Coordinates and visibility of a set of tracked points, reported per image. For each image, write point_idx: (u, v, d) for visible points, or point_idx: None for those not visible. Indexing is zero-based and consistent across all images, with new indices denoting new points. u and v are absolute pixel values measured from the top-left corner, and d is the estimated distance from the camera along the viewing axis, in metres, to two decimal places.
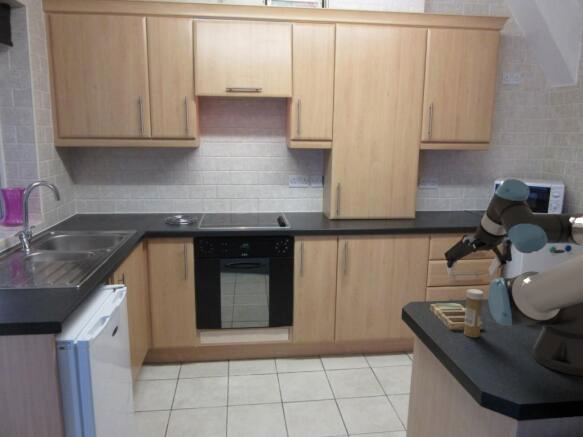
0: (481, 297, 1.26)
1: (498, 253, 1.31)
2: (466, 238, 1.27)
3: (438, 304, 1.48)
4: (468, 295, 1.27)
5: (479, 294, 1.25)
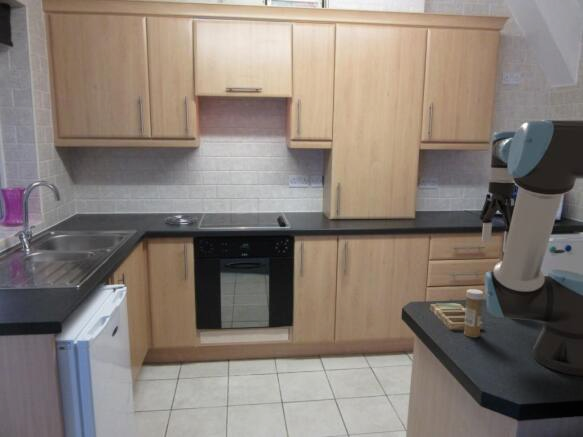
0: (481, 297, 1.26)
1: (503, 215, 1.36)
2: None
3: (438, 304, 1.48)
4: (468, 295, 1.27)
5: (479, 294, 1.25)
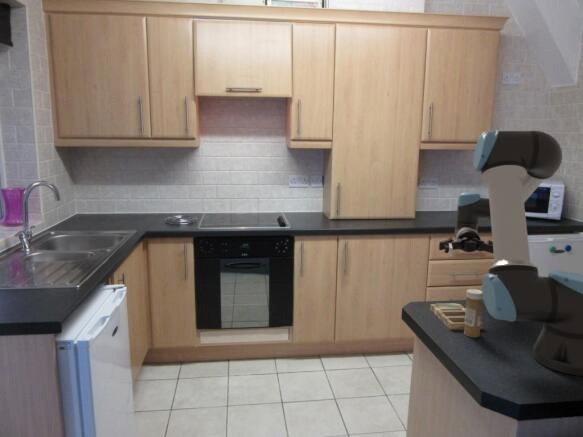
0: (481, 297, 1.26)
1: (486, 243, 1.44)
2: None
3: (438, 304, 1.48)
4: (468, 295, 1.27)
5: (479, 294, 1.25)
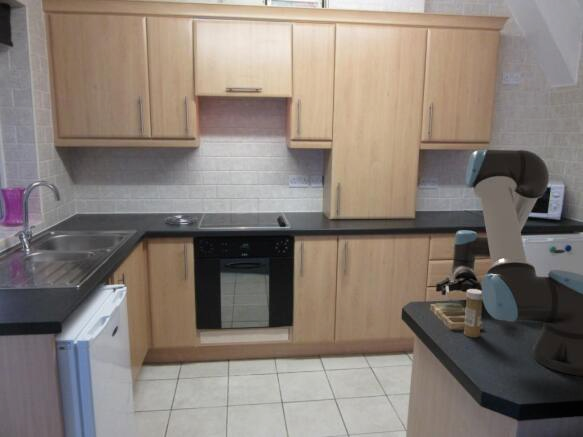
0: (481, 297, 1.26)
1: None
2: None
3: (438, 304, 1.48)
4: (468, 295, 1.27)
5: (479, 294, 1.25)
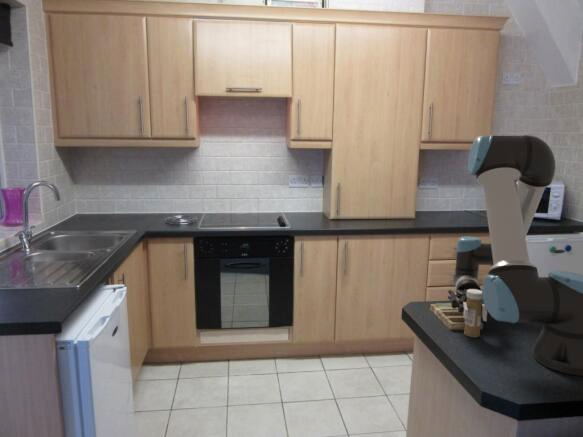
0: (481, 297, 1.26)
1: None
2: None
3: (438, 304, 1.48)
4: (468, 295, 1.27)
5: (479, 294, 1.25)
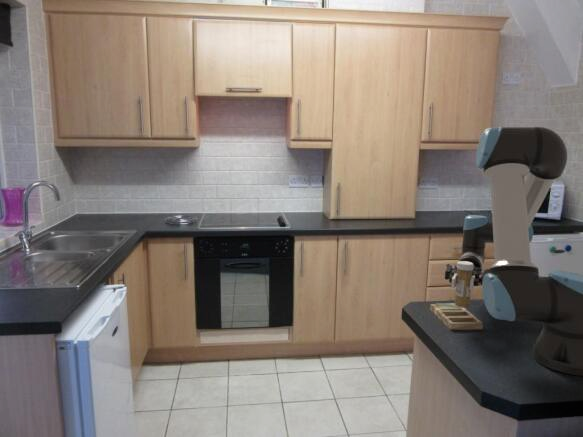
0: (470, 268, 1.30)
1: (475, 271, 1.37)
2: None
3: (438, 304, 1.48)
4: (458, 266, 1.31)
5: (468, 265, 1.30)
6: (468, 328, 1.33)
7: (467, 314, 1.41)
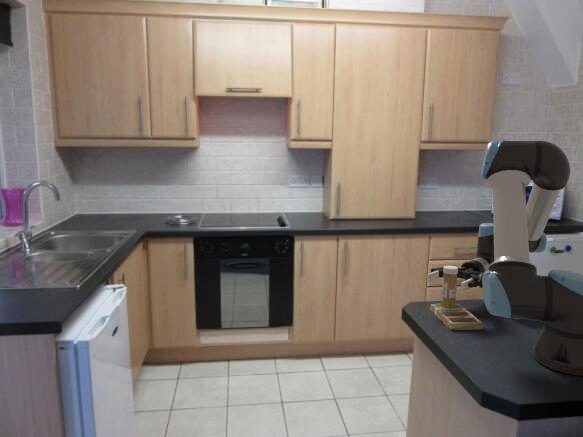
0: (452, 272, 1.42)
1: (473, 275, 1.46)
2: None
3: (438, 304, 1.48)
4: (443, 269, 1.45)
5: (450, 269, 1.42)
6: (468, 328, 1.33)
7: (467, 314, 1.41)
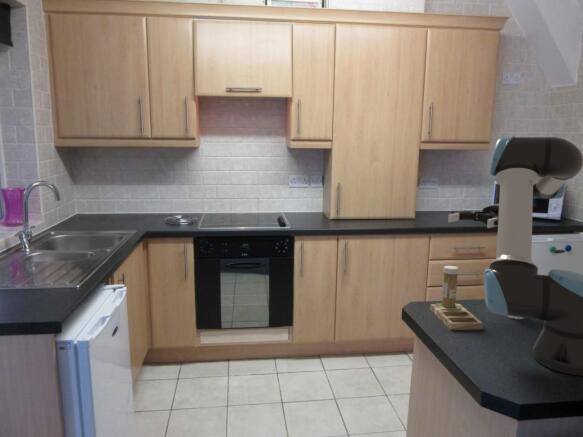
0: (453, 272, 1.42)
1: (496, 216, 1.52)
2: None
3: (438, 304, 1.48)
4: None
5: (451, 269, 1.42)
6: (468, 328, 1.33)
7: (467, 314, 1.41)
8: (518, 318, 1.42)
